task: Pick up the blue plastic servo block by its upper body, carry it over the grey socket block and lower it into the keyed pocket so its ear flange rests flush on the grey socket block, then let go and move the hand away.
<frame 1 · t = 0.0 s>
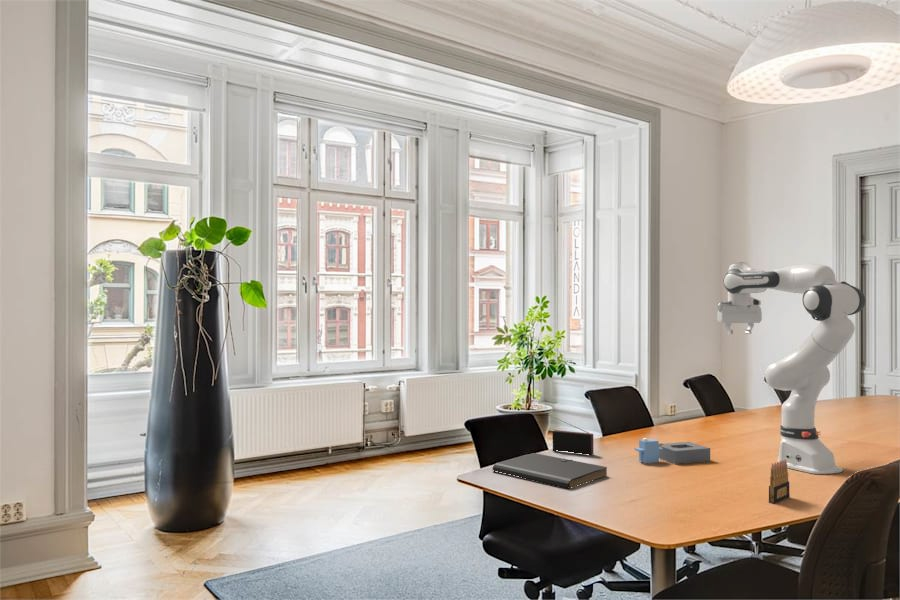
hand: (739, 334, 281), 48 cm above the table, tool pointing down, fingers open, 8 cm apart
grey socket block: (682, 459, 261), on the table
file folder: (549, 476, 239), on the table
servo: (648, 461, 256), on the table
radio: (570, 453, 273), on the table
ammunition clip: (779, 500, 205), on the table
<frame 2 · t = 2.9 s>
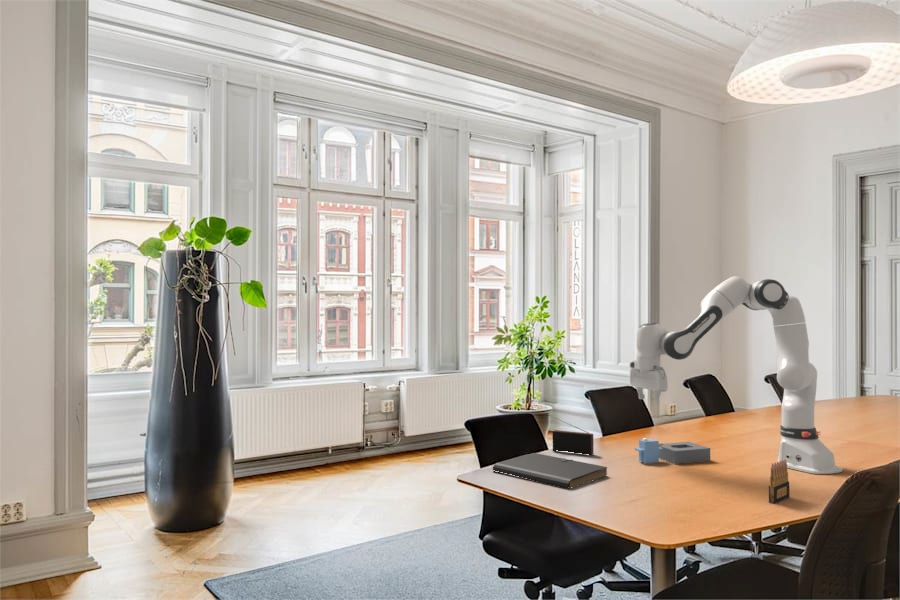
hand: (648, 400, 257), 24 cm above the table, tool pointing down, fingers open, 8 cm apart
nothing on the table moved.
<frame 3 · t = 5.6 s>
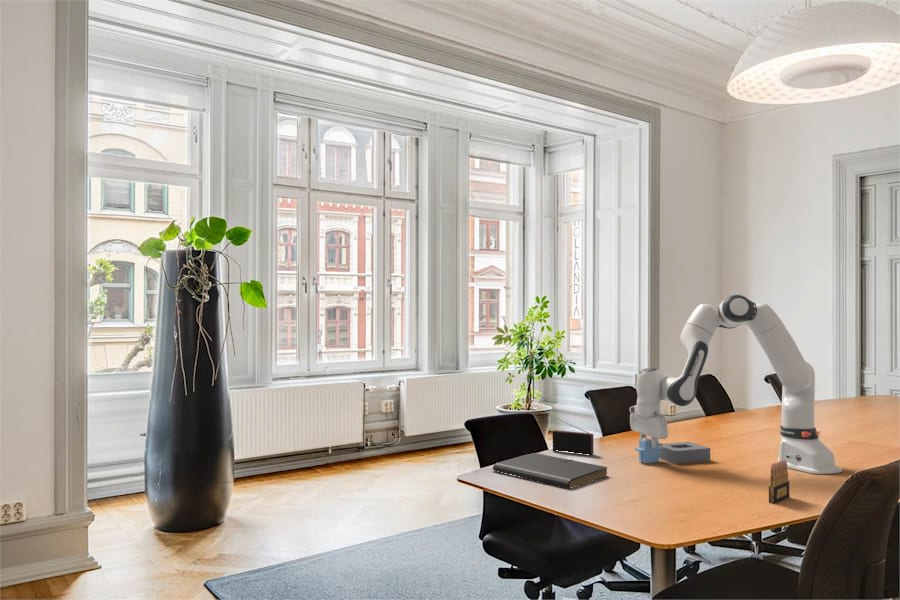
hand: (648, 446, 256), 6 cm above the table, tool pointing down, fingers closed on servo, 4 cm apart
servo: (648, 461, 256), on the table, touching gripper
everything else where it was.
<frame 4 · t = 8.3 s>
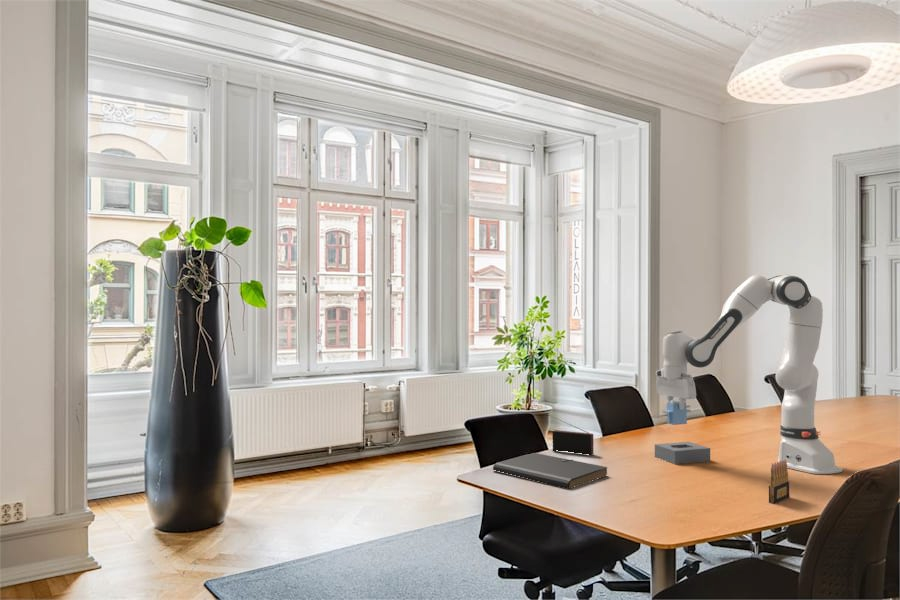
hand: (676, 408, 260), 20 cm above the table, tool pointing down, fingers closed on servo, 4 cm apart
servo: (677, 423, 260), point 14 cm above the table, touching gripper
everything else where it was.
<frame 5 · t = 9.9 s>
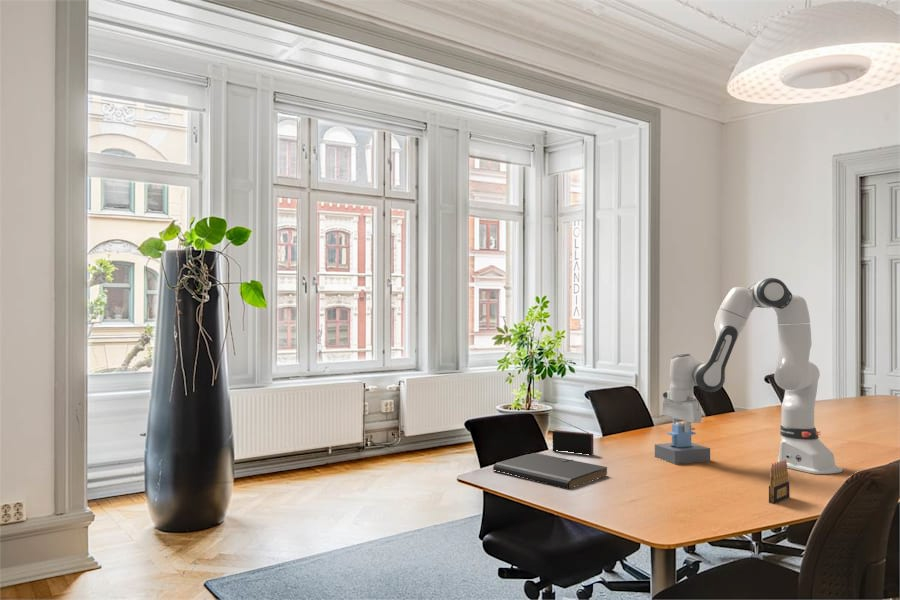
hand: (681, 430, 261), 11 cm above the table, tool pointing down, fingers closed on servo, 4 cm apart
servo: (681, 445, 261), point 5 cm above the table, touching gripper
everything else where it was.
when the fingers open (7 cm above the table, at t = 11.0 s): servo stays where it is, resting on grey socket block.
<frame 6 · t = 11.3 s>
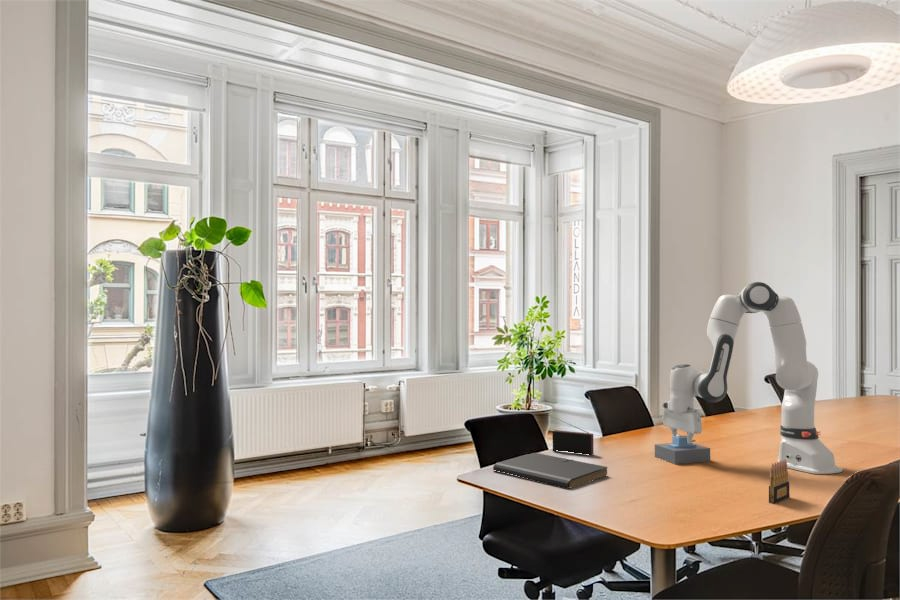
hand: (682, 441, 261), 7 cm above the table, tool pointing down, fingers open, 7 cm apart
servo: (682, 458, 261), resting on grey socket block
everything else where it was.
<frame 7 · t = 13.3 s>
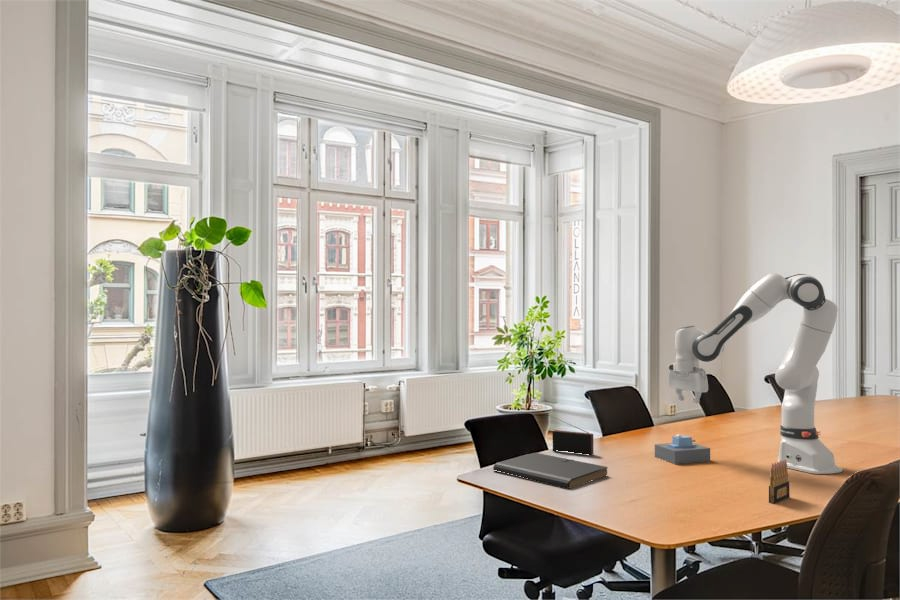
hand: (688, 401, 265), 22 cm above the table, tool pointing down, fingers open, 8 cm apart
nothing on the table moved.
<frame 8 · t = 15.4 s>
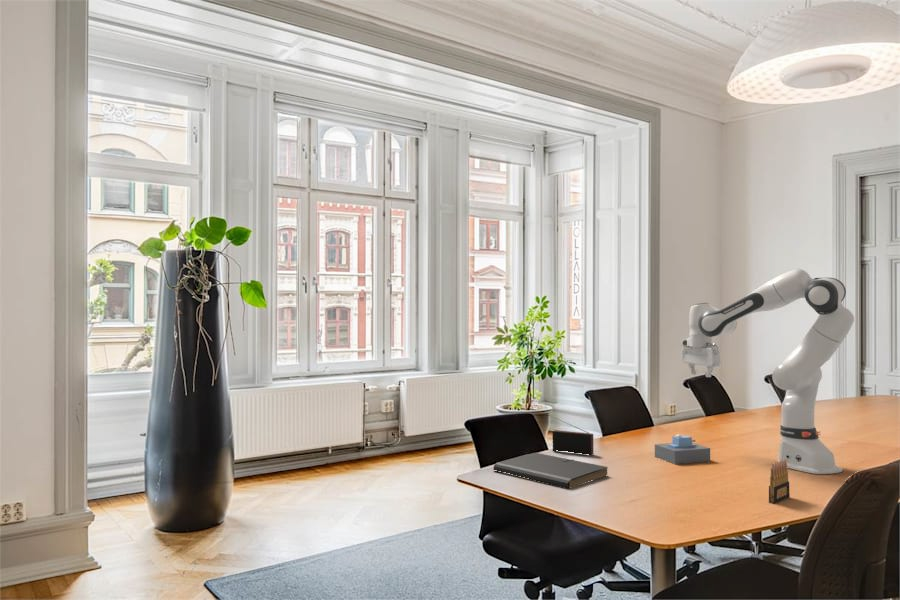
hand: (700, 375, 274), 31 cm above the table, tool pointing down, fingers open, 8 cm apart
nothing on the table moved.
at the end: servo 0.0 cm off-centre on the grey socket block, point 0.4 cm above the grey socket block's base; servo tilted 0°; the gripper is holding nothing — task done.
